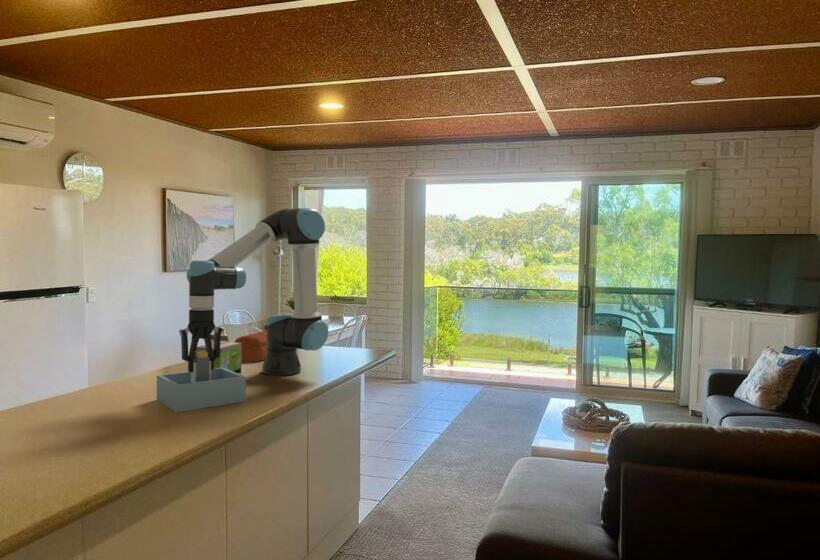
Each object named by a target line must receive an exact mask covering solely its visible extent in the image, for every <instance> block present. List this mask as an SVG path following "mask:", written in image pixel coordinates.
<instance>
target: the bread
mask: <svg viewBox="0 0 820 560" xmlns="http://www.w3.org/2000/svg"><path fill="white" fill-rule="evenodd" d="M234 343H242V360H241V362H247V361H248V362H249V363H255V362H257V363H258V362H262V361H264V360H265V357H266V354H267V330H262V331H260V332H256V333H251V334H247V335H243V336H239V337H237V338H236V339H235V340H234ZM248 362H247V363H248Z"/></svg>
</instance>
